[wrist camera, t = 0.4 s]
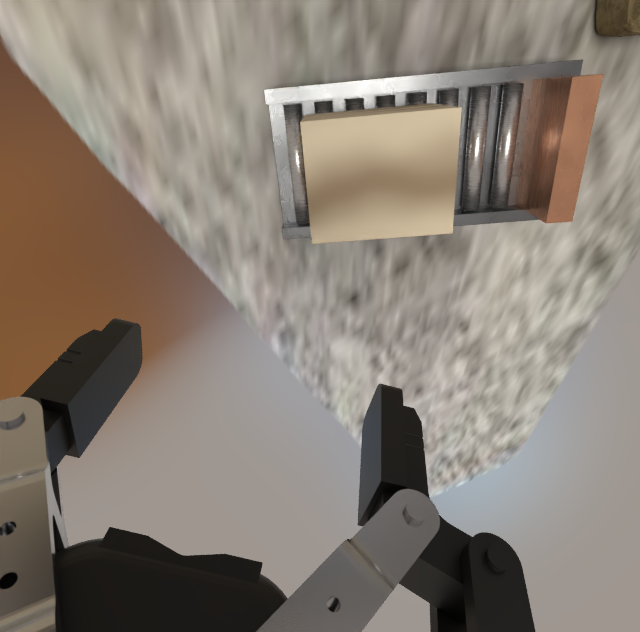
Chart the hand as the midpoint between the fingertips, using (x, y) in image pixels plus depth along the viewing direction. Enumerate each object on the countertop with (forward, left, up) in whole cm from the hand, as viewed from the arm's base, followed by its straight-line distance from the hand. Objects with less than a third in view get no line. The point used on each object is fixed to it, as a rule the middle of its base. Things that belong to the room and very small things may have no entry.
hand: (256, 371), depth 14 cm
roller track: (-2, +10, -28) cm, 30 cm away
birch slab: (-2, +6, -26) cm, 26 cm away
